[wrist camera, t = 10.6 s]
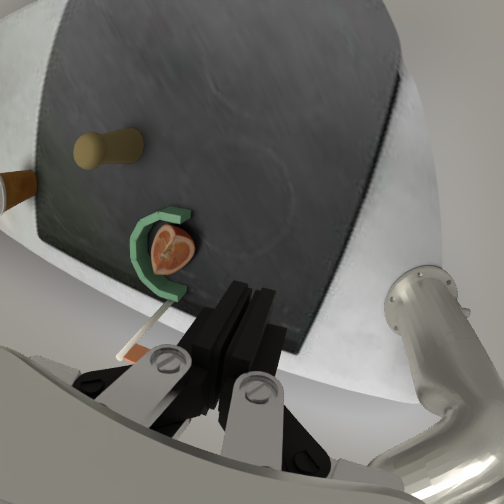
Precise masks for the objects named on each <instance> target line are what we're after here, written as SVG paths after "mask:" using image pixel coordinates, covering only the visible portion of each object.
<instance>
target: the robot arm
mask: <svg viewBox="0 0 504 504" xmlns="http://www.w3.org/2000/svg"><path fill="white" fill-rule="evenodd" d="M251 295H252V289H251V288H248V284H247V283H243V282H239V281H235V280H234V281H233V282H232V284H231V285H230V287H229V288H228V290H227V291H226V293H225V294H224V296H223V297H222V299H221V300H220V302H219V303H218V305H217V306H216V308H215V309H213V308H210V307H204V308H203V309H202V311H201V312H200V314H199V315H198V316H197V318H196V319H195V321H194V322H193V323H192V325H191V326H190V328H189V329H188V330H187V332H186V333H185V335H184V336H183V337H182V339H181V340H180V342H179V343H178V345H177V346H176V345H170V344H165V345H159V346H156V347H154V348H153V349H151V350H149V351H148V352H147V353H146V354H145V355H144V356H143V357H142V358H140V359H139V360H138V361H137V362H136V363H135V364H133V365H128V366H122V367H116V368H110V369H104V370H97V371H91V372H87V373H84V374H81V372H80V370H77V369H74V368H71V367H69V366H66V365H63V364H60V363H57V362H54V361H52V360H49V359H46V358H44V357H41V356H31V357H29V358H28V357H26V356H24V355H23V354H21V353H19V352H17V351H15V350H12V349H10V348H7V347H4V346H0V504H504V382H503V380H502V378H501V377H500V376H499V374H498V372H497V370H496V368H495V367H494V365H493V363H492V361H491V360H490V358H489V356H488V354H487V352H486V350H485V349H484V347H483V346H482V344H481V342H480V340H479V338H478V337H477V335H476V334H475V331H474V330H473V328H472V327H471V325H470V323H469V322H468V320H467V318H466V317H469V316H470V309H466V308H462V307H461V306H460V304H459V303H458V301H457V288H456V285H455V282H454V280H453V279H452V277H451V276H450V275H449V274H448V273H447V272H446V271H444V270H443V269H441V268H438V267H434V266H423V267H418V268H415V269H412V270H410V271H409V272H407V273H405V274H404V275H403V276H401V277H400V278H399V279H398V280H397V281H396V282H395V283H394V284H393V286H392V287H391V289H390V290H389V292H388V295H387V297H386V301H385V307H384V311H385V317H386V320H387V323H388V325H389V327H390V328H391V329H392V330H393V331H394V332H395V333H397V334H398V335H400V336H401V337H402V340H403V344H404V347H405V351H406V355H407V358H408V362H409V366H410V370H411V374H412V378H413V382H414V386H415V391H416V394H417V397H418V399H419V401H420V403H421V404H422V405H423V407H424V408H425V409H427V410H428V411H430V412H431V413H433V414H435V415H438V416H440V417H443V418H442V419H441V420H440V421H439V422H437V423H436V424H434V425H433V426H431V427H429V428H428V429H427V430H425V431H424V432H422V433H420V434H418V435H416V436H415V437H413V438H411V439H409V440H407V441H405V442H403V443H401V444H400V445H397V446H395V447H394V448H392V449H389V450H388V451H386V452H384V453H382V454H380V455H379V456H377V457H376V458H374V459H373V460H372V461H371V462H370V463H369V464H368V465H367V466H364V465H361V464H357V463H354V462H351V461H347V460H344V459H341V458H340V459H339V460H335V459H332V458H330V457H329V456H328V455H327V453H326V452H325V450H324V449H323V448H322V447H321V446H320V445H319V444H318V443H317V442H316V441H315V440H314V438H313V437H312V436H311V435H310V434H309V433H308V432H307V431H306V429H305V428H304V427H303V426H302V425H301V424H300V423H299V422H298V421H297V419H296V418H295V417H294V416H293V415H292V413H291V412H290V411H289V410H288V409H287V408H286V406H285V405H284V390H283V386H282V384H281V383H280V381H279V380H277V379H276V378H275V374H276V370H277V367H278V363H279V359H280V355H281V351H282V347H283V343H284V339H285V335H286V330H287V328H285V327H281V326H277V325H273V324H269V322H270V318H271V313H272V309H273V304H274V300H275V295H276V291H275V290H271V289H267V288H262V289H261V291H259V290H256V291H255V293H254V295H253V297H252V299H251ZM391 297H392V298H391ZM250 300H251V301H250ZM218 401H219V407H218V411H219V419H218V422H219V423H220V425H221V427H222V428H223V430H224V431H225V435H224V441H223V445H222V450H221V456H220V455H217V454H214V453H211V452H208V451H205V450H202V449H199V448H196V447H193V446H191V445H188V444H185V443H183V442H180V441H178V440H177V439H178V438H179V437H180V435H181V434H182V433H183V431H184V430H185V429H186V428H187V426H188V425H189V424H190V422H191V418H193V417H197V416H200V415H201V414H203V415H205V416H206V414H207V412H208V410H209V408H210V409H213V410H214V409H215V407H216V405H217V402H218Z"/></svg>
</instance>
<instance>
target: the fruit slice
mask: <svg viewBox="0 0 504 504" xmlns="http://www.w3.org/2000/svg"><path fill="white" fill-rule="evenodd" d="M194 252H195V246H194V242H193V240H192V238H191V236H190V235H189V234H188V233H187V232H186V231H184V230H182V229H181V228H179V227H177V226H174V225H170V224H165V225H163V226H162V227H161V228H160V229H159V230H158V232H157V234H156V236H155V238H154V241H153V244H152V248H151V263H152V267H153V272H154V274H155V275H170V274H172V273H174V272H176V271H178V270H179V269H181V268H182V267H184V266H185V265H186V264H187V263H188V262H189V261H190V260H191V258H192V257H193V255H194Z"/></svg>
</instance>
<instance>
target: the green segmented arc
mask: <svg viewBox="0 0 504 504" xmlns="http://www.w3.org/2000/svg"><path fill="white" fill-rule="evenodd" d="M189 218H191V210H189V209H183V208H178V207H173V206H170V207H169V206H168V207H166V208H164V209H162V210H159V211H157V212H155V213H153V214H151V215H149V216H147V217H145V218H142V219H140V220H139V222H138V224H137V225H136V227H135V229H134V231H133V233H132V235H131V237H130V257H131V259H132V260H131V262H132V264H133V266H134V268H135V270H136V272H137V274H138V276H139V278H140V280H141V279H142V282H143V283H144V284H145V285H146V286H147V287H149V288H150V289H151V290H152V291H153V292H154V293H155V294H156V295H158V296H160V297H163V298H166V299H168V300H167V301H166V302H165V303H164V304H163V305H162V306H161V307H160V308H159V310H158V311H157V312H156V313H155V314H154V315H153V316H152V317H151V318H150V319H149V320H148V321H147V323H145V325H144V326H143V327H142V328H141V329H140V330H139V331H138V332H137V333H136V334H135V335H134V336H133V338H132V339H131V340H130V341H129V342H128V343H127V344H126V345H125V346H124V347H123V349H122V350H121V351H120V352H119V353H118V354H117V355H116V359H117V360H119V361H122V360H123V359H125V360H127V361H129V362H131V363H134V364H135V363H136V362H137V361H138V360H139V359H140V358H142V357H143V356H144V355H145V354H146V353H147V352H148V351H149V350H150V349H148V348H145V347H143V346H140V345H138V344H137V343H138V342H139V340H140V339H141V338H142V337H143V336H144V334H146V333H147V331H148V330H149V329H150V328H151V327H152V326H153V325H154V323H155V322H156V321H157V320H158V319H159V318H160V317H161V316H162V315H163V313H164V312H165V311H166V310H167V309H168V308H169V307H170V306H171V304H172V303H173V302H174V301H176V302H178V301H179V300H180V299H181V298H182V296H183V295H184V294H185V293H186V292H187V286H186V285H182V284H179V283H176V282H172V281H169V280H168V279H167V278H166V277H165V276H163V275H155V274H154V272H153V267H152V263H151V258H150V256H149V254H148V233H149V231H150V229H151V228H152V226H153V224H154V223H155V221H158V220H164V221H168V222H173V223H177V224H181V223H183V222H184V221H186V220H188V219H189Z"/></svg>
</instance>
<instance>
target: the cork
mask: <svg viewBox="0 0 504 504" xmlns="http://www.w3.org/2000/svg"><path fill="white" fill-rule="evenodd" d="M143 150H144V140H143V137H142V134H141V133H140V132H139V131H138V130H137V129H135V128H126V129H121V130H117V131H113V132H109V133H105V134H102V135H100V134H98V133H96V132H88V133H86V134H83V135H82V136H81V137H80V138H79V139H78V140H77V141H76V143H75V146H74V159H75V161H76V163H77V164H78V166H80V167H81V168H83V169H88V170H90V169H94V168H97V167H98V166H100V165H101V164H132V163H135V162H136V161H138V160H139V158H140V157H141V155H142V153H143Z"/></svg>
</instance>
